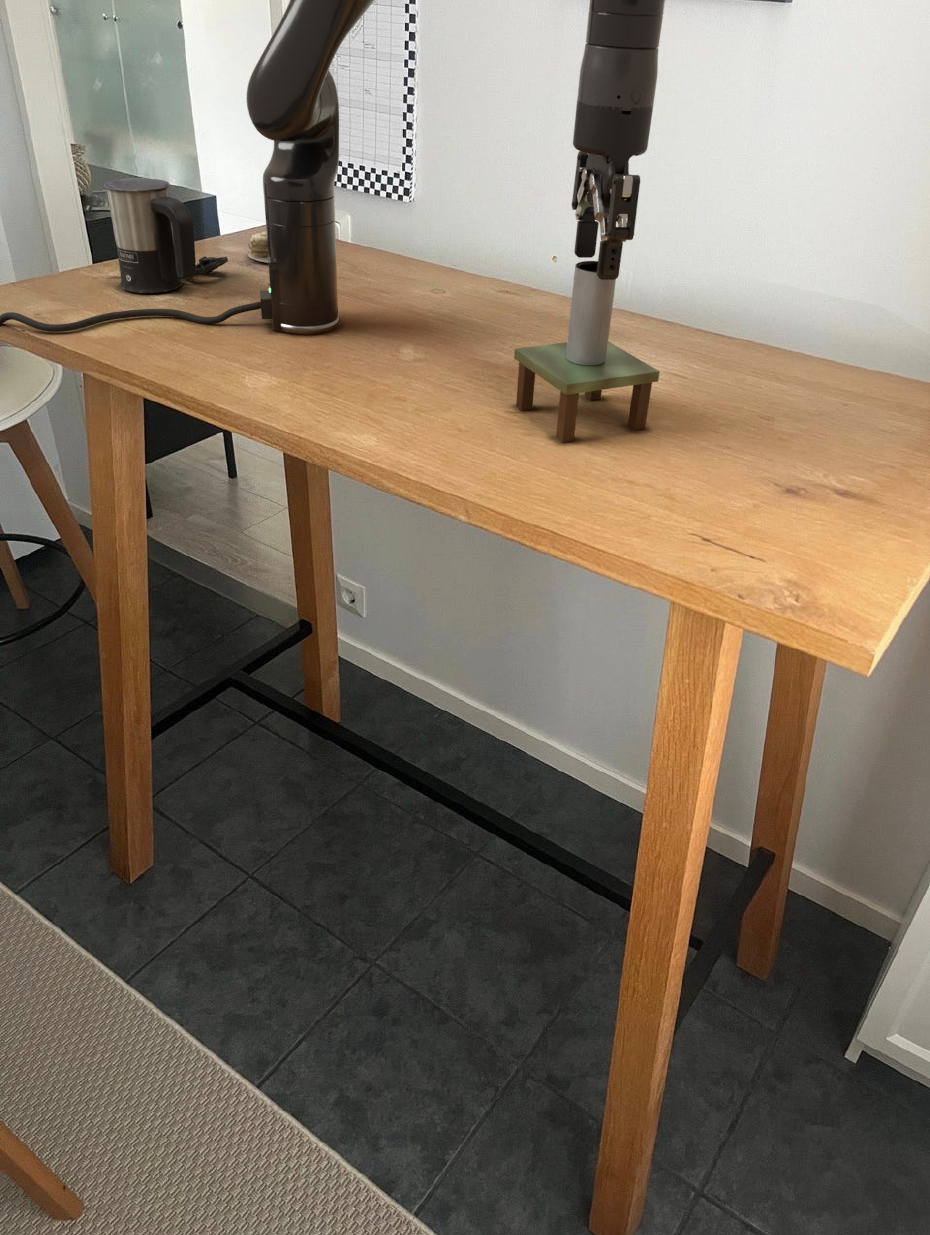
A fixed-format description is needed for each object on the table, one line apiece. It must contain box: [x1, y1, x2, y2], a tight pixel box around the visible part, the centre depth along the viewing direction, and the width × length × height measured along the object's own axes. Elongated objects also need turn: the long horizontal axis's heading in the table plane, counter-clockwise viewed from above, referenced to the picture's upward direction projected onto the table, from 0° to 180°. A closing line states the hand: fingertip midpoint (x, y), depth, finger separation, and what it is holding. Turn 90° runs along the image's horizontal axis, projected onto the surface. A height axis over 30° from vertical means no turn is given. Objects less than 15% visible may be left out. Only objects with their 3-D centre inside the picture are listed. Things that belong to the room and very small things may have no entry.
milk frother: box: [103, 177, 229, 294], centre depth 150 cm, size 14×16×15 cm
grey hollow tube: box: [566, 260, 617, 366], centre depth 109 cm, size 4×4×10 cm
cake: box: [246, 231, 268, 263], centre depth 167 cm, size 10×10×5 cm
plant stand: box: [513, 340, 661, 443], centre depth 114 cm, size 12×12×7 cm
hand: (595, 267), depth 106 cm, fingers open, 8 cm apart
